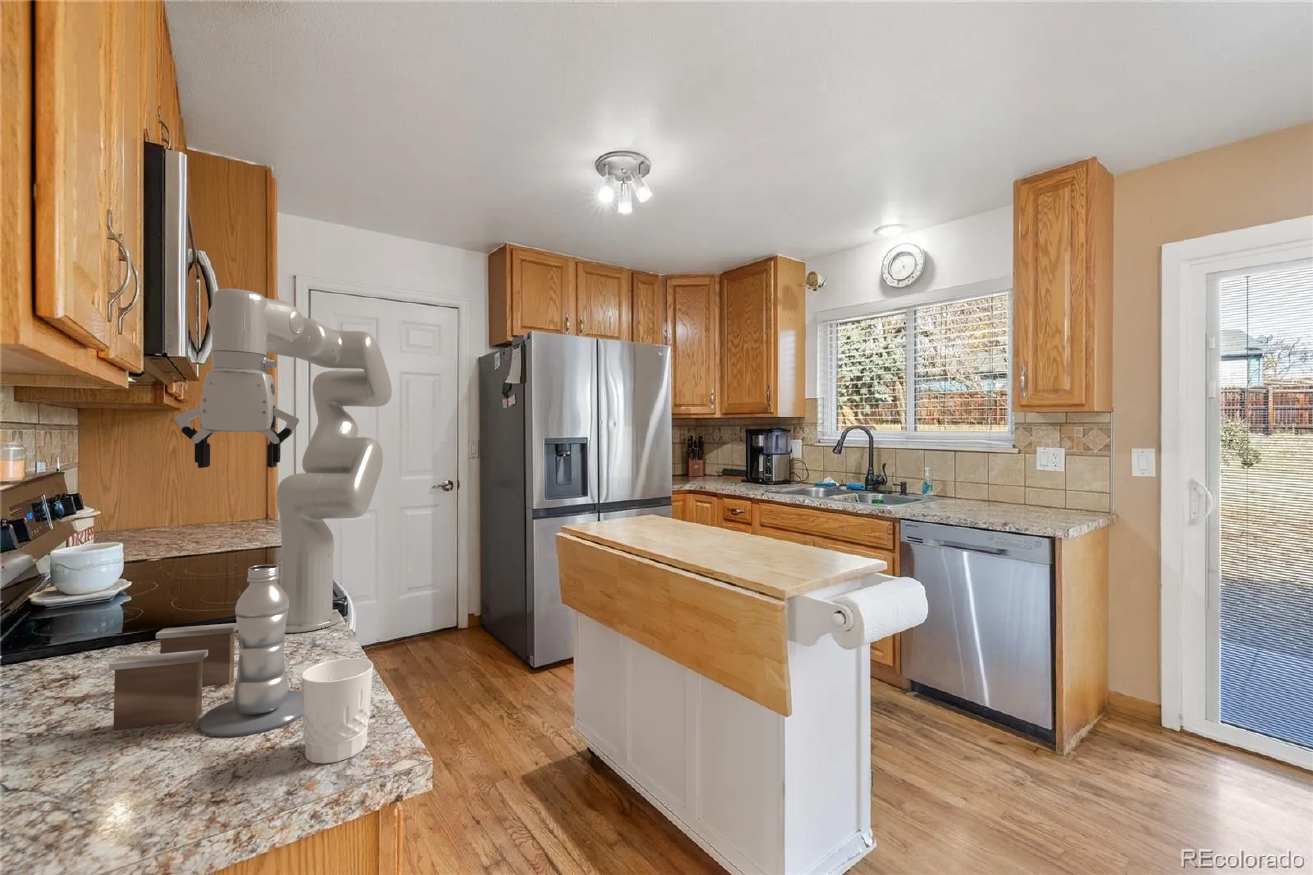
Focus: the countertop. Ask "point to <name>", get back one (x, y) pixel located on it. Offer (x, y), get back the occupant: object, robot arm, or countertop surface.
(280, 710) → the coaster
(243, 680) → the grey bulging hollow cylinder
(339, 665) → the white cup
